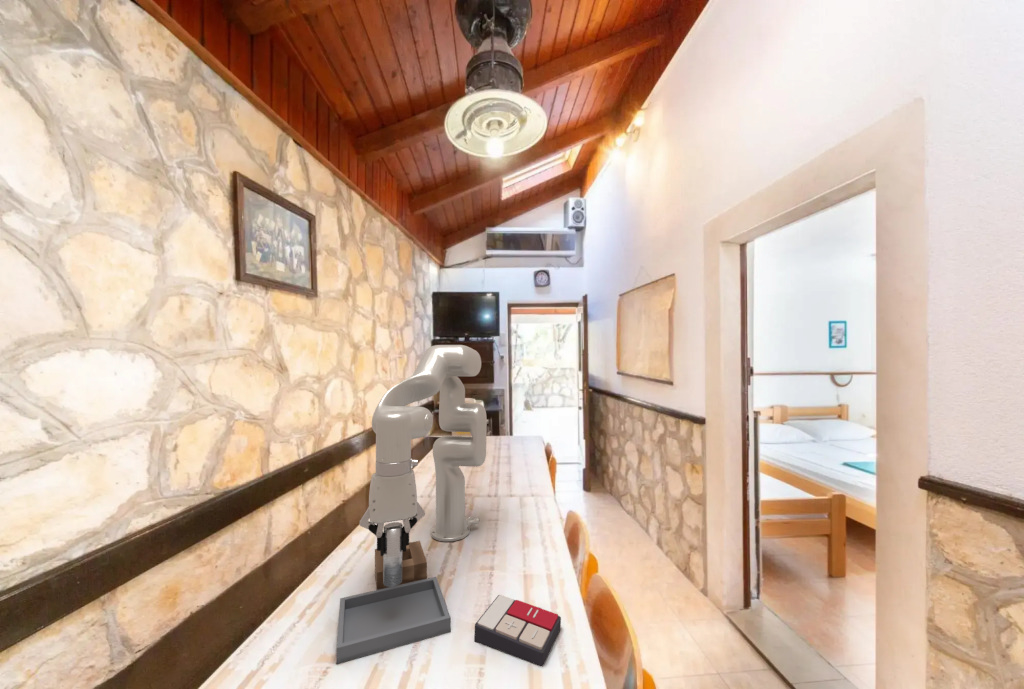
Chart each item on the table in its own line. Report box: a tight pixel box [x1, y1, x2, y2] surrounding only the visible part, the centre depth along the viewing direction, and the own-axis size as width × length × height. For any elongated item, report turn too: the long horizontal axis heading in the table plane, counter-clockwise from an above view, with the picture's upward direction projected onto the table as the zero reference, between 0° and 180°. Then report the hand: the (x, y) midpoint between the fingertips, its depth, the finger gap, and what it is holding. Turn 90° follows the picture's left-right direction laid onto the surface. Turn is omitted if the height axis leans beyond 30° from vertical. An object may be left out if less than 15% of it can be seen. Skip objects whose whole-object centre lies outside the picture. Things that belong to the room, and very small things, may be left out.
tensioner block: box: [374, 540, 428, 590], centre depth 100 cm, size 12×12×6 cm
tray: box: [336, 576, 452, 665], centre depth 84 cm, size 22×16×3 cm
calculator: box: [473, 594, 562, 667], centre depth 80 cm, size 11×4×15 cm
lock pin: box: [383, 521, 404, 587], centre depth 84 cm, size 4×4×12 cm
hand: (393, 550), depth 84 cm, fingers closed on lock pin, 4 cm apart
